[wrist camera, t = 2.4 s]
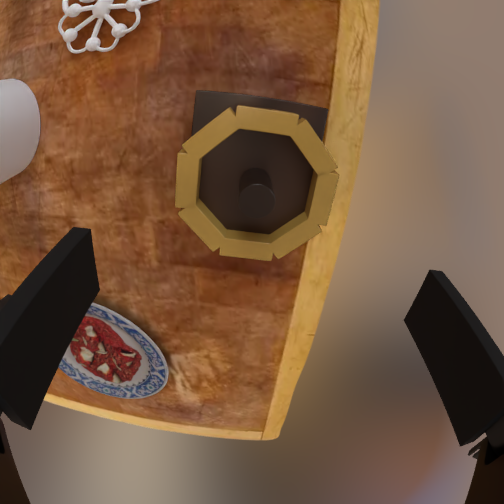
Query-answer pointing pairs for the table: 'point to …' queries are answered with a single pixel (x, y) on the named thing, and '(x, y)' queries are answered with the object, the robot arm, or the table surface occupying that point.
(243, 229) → the stand
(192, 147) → the ring
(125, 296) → the table surface
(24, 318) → the robot arm
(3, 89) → the canister
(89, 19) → the tangled rod sculpture
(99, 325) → the ceramic plate
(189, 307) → the table surface
